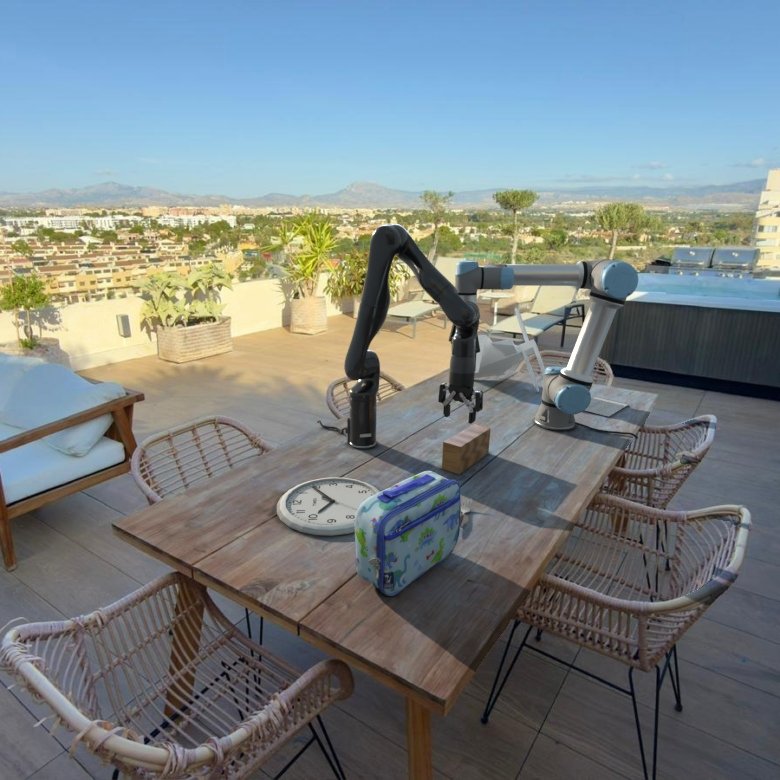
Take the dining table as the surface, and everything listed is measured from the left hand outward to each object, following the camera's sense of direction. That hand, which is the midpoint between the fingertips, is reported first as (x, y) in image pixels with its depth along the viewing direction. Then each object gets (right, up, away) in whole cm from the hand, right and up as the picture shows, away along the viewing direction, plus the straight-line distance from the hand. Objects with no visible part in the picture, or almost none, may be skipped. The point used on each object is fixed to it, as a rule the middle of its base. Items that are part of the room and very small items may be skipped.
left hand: (459, 419), depth 162 cm
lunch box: (-17, -31, -45) cm, 57 cm away
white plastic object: (+33, +11, +93) cm, 99 cm away
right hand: (+5, +18, +24) cm, 30 cm away
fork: (-3, -25, -25) cm, 35 cm away
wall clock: (-37, -22, -19) cm, 47 cm away
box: (+4, -14, +10) cm, 18 cm away
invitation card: (+70, +2, +64) cm, 95 cm away
